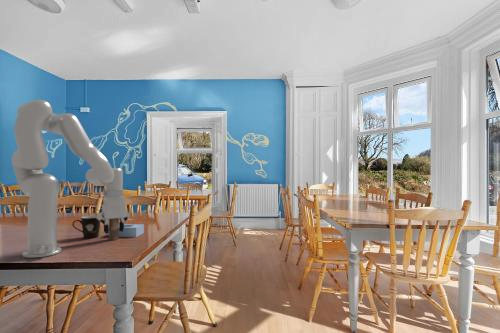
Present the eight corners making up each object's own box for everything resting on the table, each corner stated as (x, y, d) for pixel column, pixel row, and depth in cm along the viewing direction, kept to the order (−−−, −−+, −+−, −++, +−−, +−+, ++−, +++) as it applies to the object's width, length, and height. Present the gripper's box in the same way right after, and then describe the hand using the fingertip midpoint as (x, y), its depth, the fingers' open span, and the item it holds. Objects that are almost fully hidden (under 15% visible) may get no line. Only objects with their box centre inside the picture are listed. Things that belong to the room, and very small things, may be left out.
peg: (119, 239, 143) (119, 218, 143) (110, 240, 140) (110, 219, 141) (116, 237, 146) (117, 217, 146) (108, 239, 143) (108, 218, 144)
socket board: (143, 233, 157) (143, 224, 157) (136, 236, 148) (136, 227, 148) (117, 232, 158) (117, 224, 158) (108, 236, 149) (108, 227, 149)
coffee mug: (104, 235, 151) (104, 215, 152) (94, 239, 143) (94, 218, 143) (82, 235, 153) (82, 215, 153) (71, 239, 144) (71, 218, 144)
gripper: (96, 195, 135) (96, 236, 135) (135, 193, 146) (135, 230, 146) (92, 194, 141) (91, 233, 140) (129, 192, 152) (129, 228, 152)
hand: (113, 231), depth 143 cm, fingers open, 5 cm apart
